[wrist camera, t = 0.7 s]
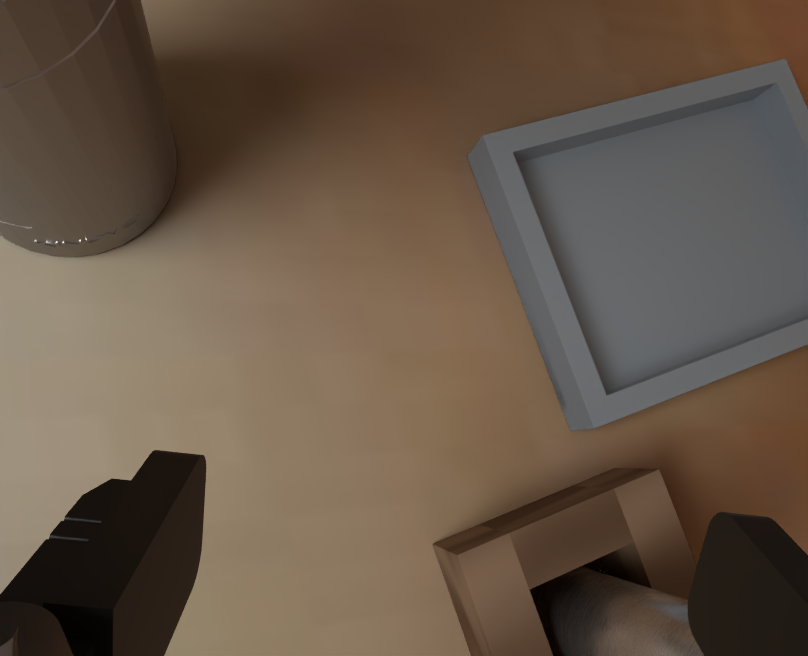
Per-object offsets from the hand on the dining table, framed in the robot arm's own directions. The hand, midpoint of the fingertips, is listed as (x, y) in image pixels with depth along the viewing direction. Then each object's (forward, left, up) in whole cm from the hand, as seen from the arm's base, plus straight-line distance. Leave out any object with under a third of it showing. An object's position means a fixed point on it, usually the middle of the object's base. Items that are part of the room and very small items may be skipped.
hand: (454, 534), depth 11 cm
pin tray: (-6, +22, -22) cm, 31 cm away
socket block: (+9, +9, -22) cm, 25 cm away
